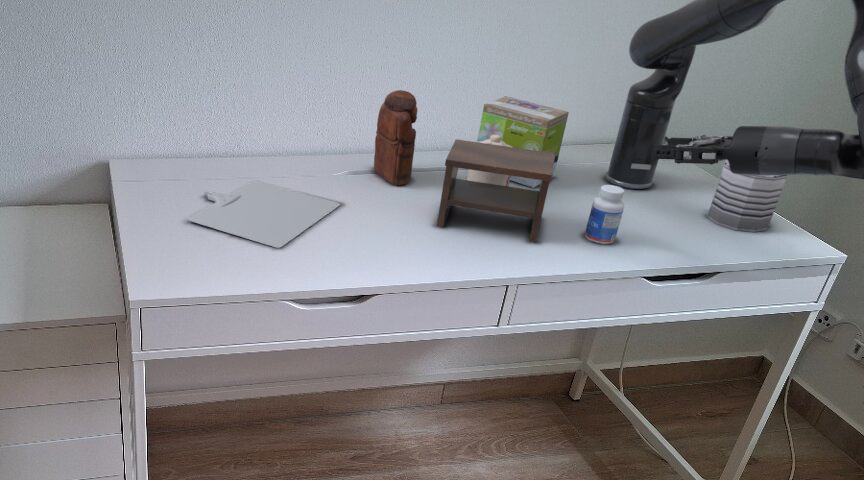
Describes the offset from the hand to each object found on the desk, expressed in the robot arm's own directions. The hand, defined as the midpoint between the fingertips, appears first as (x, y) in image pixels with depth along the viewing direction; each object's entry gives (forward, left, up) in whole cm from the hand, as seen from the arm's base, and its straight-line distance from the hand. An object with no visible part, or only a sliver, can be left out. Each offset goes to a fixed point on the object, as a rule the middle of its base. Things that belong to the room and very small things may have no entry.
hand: (660, 147), depth 147 cm
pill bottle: (-2, -5, -19) cm, 20 cm away
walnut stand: (-1, -26, -19) cm, 32 cm away
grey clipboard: (+12, -68, -19) cm, 71 cm away
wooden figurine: (-18, -47, -19) cm, 54 cm away
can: (-23, +20, -19) cm, 36 cm away
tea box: (-31, -23, -19) cm, 43 cm away
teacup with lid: (-19, -28, -19) cm, 39 cm away
